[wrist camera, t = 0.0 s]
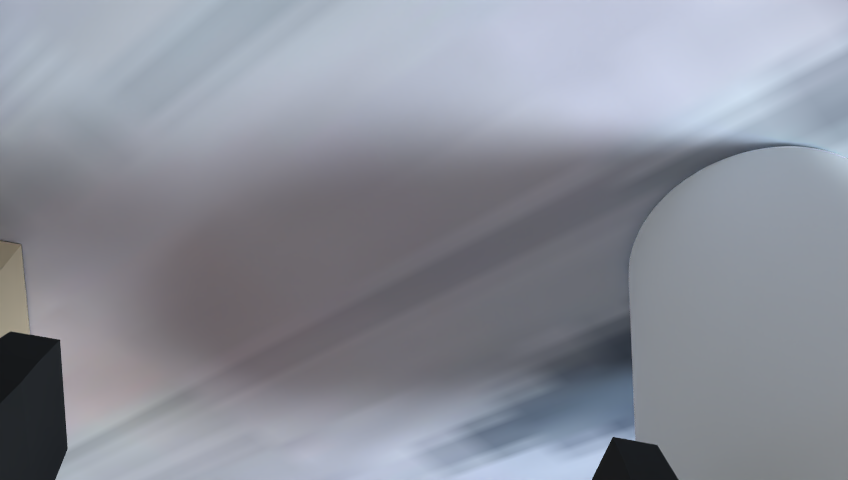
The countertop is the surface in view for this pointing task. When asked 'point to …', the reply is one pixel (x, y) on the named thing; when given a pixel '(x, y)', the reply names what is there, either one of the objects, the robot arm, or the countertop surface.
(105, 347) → the countertop surface
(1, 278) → the carton
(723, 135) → the countertop surface
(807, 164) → the cup
